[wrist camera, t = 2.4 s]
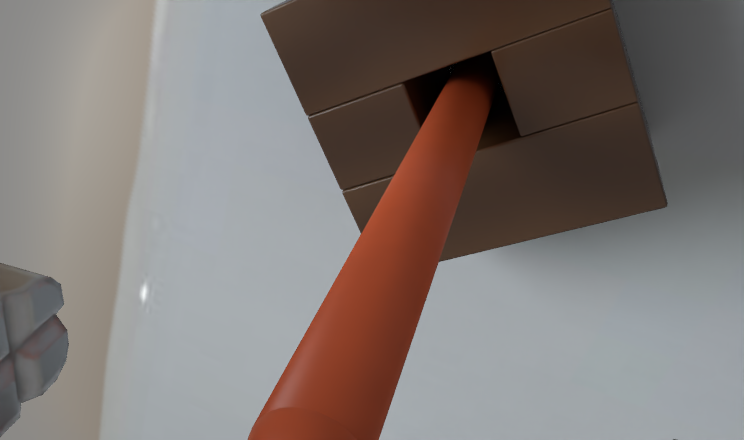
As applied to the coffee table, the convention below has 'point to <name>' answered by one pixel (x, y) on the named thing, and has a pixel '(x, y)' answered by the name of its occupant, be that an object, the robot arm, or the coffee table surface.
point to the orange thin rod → (383, 279)
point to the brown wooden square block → (506, 116)
